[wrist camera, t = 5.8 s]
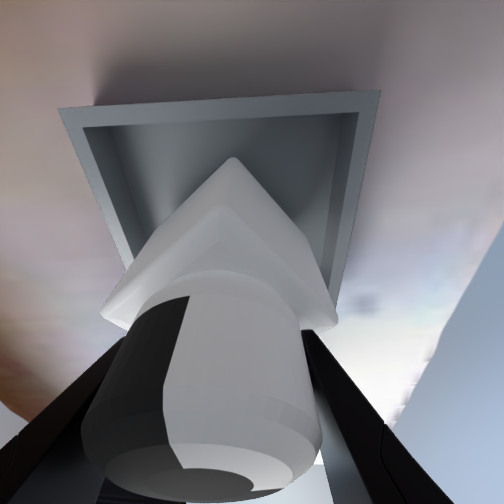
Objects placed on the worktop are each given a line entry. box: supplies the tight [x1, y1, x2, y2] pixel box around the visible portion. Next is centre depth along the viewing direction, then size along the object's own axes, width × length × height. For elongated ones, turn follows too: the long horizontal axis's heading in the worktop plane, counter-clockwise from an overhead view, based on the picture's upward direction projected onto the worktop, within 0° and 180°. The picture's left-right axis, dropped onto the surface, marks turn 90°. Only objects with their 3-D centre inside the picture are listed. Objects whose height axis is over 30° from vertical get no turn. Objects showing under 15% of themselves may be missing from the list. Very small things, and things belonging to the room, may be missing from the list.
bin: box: [57, 90, 381, 310], centre depth 16 cm, size 15×15×3 cm
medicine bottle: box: [81, 157, 338, 503], centre depth 11 cm, size 7×7×12 cm
